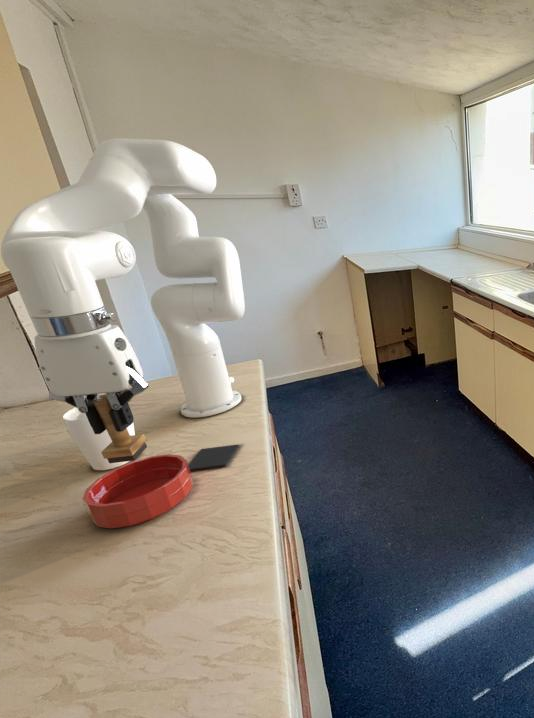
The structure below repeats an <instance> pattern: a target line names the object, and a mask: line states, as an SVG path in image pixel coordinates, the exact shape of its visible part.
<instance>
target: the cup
mask: <svg viewBox="0 0 534 718" xmlns="http://www.w3.org/2000/svg"><path fill="white" fill-rule="evenodd" d="M62 418H63V421H64V423H65V424H64V425H65V428H66V431H67V433H68V435H69V437H70V438H71V439H72V441H73V442H74V444H75V445H76V446H77V448H78V449H79V451H80V452H81V454H82V455H83V456H84V458H85V459H86V461H87V462H88V463H89V465H90V466H91V468H92V469H93V470H95V471H106V470H113V469H116V468H119V467H121V466H123V465H126V464H128V463H130V461H126V462H117V463H109V462H108V460H107V459H104V457H103V455H102V453H101V452H102V451H103V450H104V449H105V448H106V447H107V446H108V445H109V444H110V443H111V442H112V440H111V438H110V436H109V434H108V432H107V430H105V431H104V432H102V433H101V434H95V433H94V431H93V429H92V427H91V426H90V423H89V421H88V418H87V416H86V414H85V413H81V412H79V411H78V408H77V407H73V408H71V409H70V410H68V411H66V412H65V413H64V414H63V416H62ZM127 430H128V432H129V435H130V436H131V435H136V432H135V425H134V422H133V423H132V424H131V425H130V426H129V427H127Z"/></svg>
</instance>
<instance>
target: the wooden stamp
mask: <svg viewBox="0 0 534 718" xmlns="http://www.w3.org/2000/svg"><path fill="white" fill-rule="evenodd" d="M92 401H93V403H94V405H95V407H96V409H97V411H98V413H99V415H100V417H101V420H102V422H103V424H104V426H105V428H106V430H107V432H108V434H109V436H110V438H111V440H112V442H111V443H110V444H109V445H108V446H107V447H106V448H105V449H104V450H103V451H102V452H101V453H102V455H103V457H104V459H107V460H108V462H109V463H117V462H126V461H129V462H133V461H136V460H137V459H138V458H139V456H140V455H141V454H142V453H143V452H144V451H145V450H146V449H147V448H148V445H147V443H146V442H147V440H148V439H147V437H146V435H145V434H144V433H143V434H141V433H140V434H135V435H131V436H130V435H129V432H128V430H127V428H126V429H125V430H124V431H122V432H118V431H116V429H115V426H114V424H113V421H112V419H111V416H110V414H109V411H110V410H112V409H113V408H112V407H111V405H110V403H109V400H108V398H107V396H106V393H103V394H101V395H100V394H99V395H98V396H97V397H95V398H94V399H93V400H92Z"/></svg>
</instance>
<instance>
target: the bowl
mask: <svg viewBox="0 0 534 718" xmlns="http://www.w3.org/2000/svg"><path fill="white" fill-rule="evenodd" d="M188 465H189V463H188V460H187V459H186V458H185V457H183V456H182V455H180V454H179V455H178V454H172V453H171V454H170V453H168V454H167V453H166V454H159V455H151V456H147V457H144V458H141V459H136V460H134V461H130V462H128V463H126V464H124V465H121V466H119V467H116V468H113V469H111V470H110V471H108V472H107V473H105V474H104V475H102V476H100V477H98V478H97V479H96V480H95V481H93V482H92V483H91V485H89V486H88V487H87V488H86V489H85V491H84V494H83V496H82V501H83V503H84V506H85V508H86V510H87V512H88V515H89V518H90V519H91V521H92V522H93V523H94V525H95V526H96V527H97V528H105V529H119V528H126V527H131V526H135V525H138V524H142V523H145V522H147V521H150V520H152V519H155V518H157V517H159V516H161V515H163V514H165V513H167V512H168V511H169V510H171V509H172V508H174V507H176V506H177V505H178V504H179V503H180V502H182V501H183V500H184V499H185V498H186V497H187V495H188V494H189V493H190V491H191V490H192V489H193V487H194V483H193V482H194V480H193V475H192V471H190V469H189V466H188Z"/></svg>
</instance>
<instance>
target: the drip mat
mask: <svg viewBox="0 0 534 718" xmlns="http://www.w3.org/2000/svg"><path fill="white" fill-rule="evenodd" d="M239 447H240V444H232V445H231V444H230V445H223V446H215V447H206V448H201V449H200V450H199V452H197V454H196V455H195V457H193V459H192V460H191V461H190V462H189V463H188V466H189V469H190V472H195V471H202V470H210V469H216V468H217V469H218V468H224V467H225V468H226V467H227V465H228V464H229V462H230V461H231V459H232V458H233V456H234V455H235V453H236V452H237V450H238V449H239Z"/></svg>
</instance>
